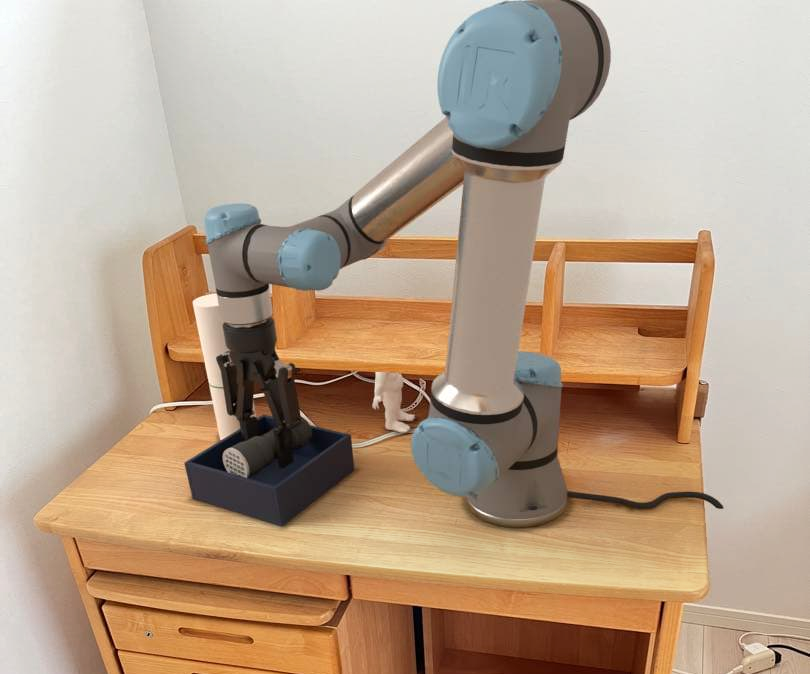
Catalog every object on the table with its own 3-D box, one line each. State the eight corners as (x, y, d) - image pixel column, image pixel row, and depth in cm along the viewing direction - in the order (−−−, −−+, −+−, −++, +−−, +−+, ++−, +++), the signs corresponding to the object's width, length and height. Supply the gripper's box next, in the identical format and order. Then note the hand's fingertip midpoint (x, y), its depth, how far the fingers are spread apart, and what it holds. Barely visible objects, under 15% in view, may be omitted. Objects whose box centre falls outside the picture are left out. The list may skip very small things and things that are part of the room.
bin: (354, 470, 137) (351, 434, 133) (281, 526, 123) (275, 488, 120) (269, 448, 145) (263, 414, 142) (192, 498, 132) (183, 462, 128)
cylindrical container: (266, 430, 151) (244, 295, 137) (243, 447, 146) (217, 308, 132) (235, 424, 154) (210, 291, 140) (211, 440, 149) (183, 304, 135)
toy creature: (406, 440, 145) (402, 376, 138) (372, 438, 146) (367, 375, 139) (419, 411, 154) (415, 350, 148) (387, 410, 156) (383, 349, 149)
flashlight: (293, 438, 139) (289, 409, 136) (317, 446, 136) (313, 416, 133) (225, 476, 129) (219, 445, 126) (249, 485, 126) (244, 454, 123)
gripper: (314, 319, 117) (331, 462, 130) (217, 303, 126) (242, 439, 139) (281, 336, 112) (302, 483, 125) (182, 319, 121) (211, 458, 134)
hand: (270, 460), depth 132 cm, fingers closed on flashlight, 6 cm apart
